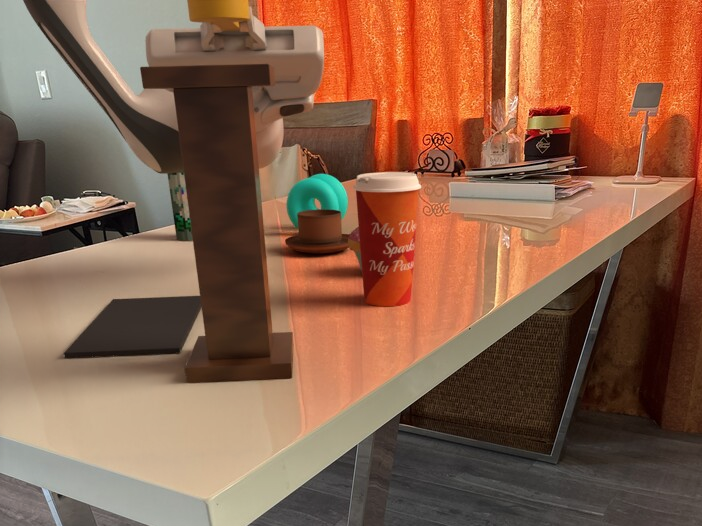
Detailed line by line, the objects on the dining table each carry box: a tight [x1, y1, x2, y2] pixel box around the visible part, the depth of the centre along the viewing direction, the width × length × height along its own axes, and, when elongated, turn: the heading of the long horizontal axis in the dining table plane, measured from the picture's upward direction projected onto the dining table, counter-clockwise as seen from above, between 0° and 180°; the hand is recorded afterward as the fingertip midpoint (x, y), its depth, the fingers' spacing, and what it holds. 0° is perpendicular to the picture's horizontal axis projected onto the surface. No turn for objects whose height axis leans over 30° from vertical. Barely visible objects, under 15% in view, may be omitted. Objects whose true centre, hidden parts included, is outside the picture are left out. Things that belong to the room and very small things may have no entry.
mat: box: [63, 295, 202, 359], centre depth 85 cm, size 12×22×1 cm, turn 4°
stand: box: [139, 64, 294, 384], centre depth 66 cm, size 10×10×26 cm
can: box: [167, 171, 193, 242], centre depth 132 cm, size 6×6×15 cm
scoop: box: [186, 0, 250, 31], centre depth 72 cm, size 18×6×2 cm, turn 4°
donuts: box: [286, 173, 349, 230], centre depth 136 cm, size 10×10×10 cm
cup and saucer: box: [284, 208, 350, 254], centre depth 120 cm, size 12×12×6 cm
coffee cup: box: [352, 171, 422, 307], centre depth 89 cm, size 8×8×15 cm
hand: (228, 13), depth 75 cm, fingers closed on scoop, 2 cm apart
